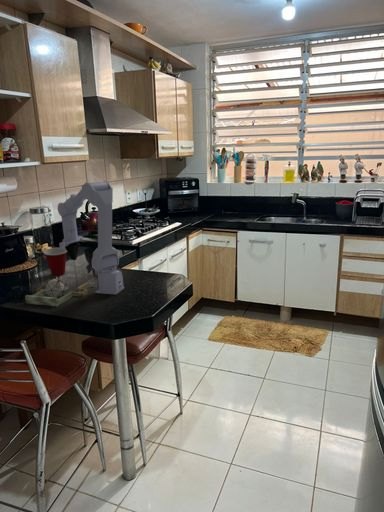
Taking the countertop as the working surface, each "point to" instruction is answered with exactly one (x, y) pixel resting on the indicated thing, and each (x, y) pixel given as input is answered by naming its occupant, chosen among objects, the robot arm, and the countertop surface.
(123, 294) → the countertop surface
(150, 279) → the countertop surface
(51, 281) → the game die
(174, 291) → the countertop surface
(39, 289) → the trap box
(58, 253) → the plastic cup
